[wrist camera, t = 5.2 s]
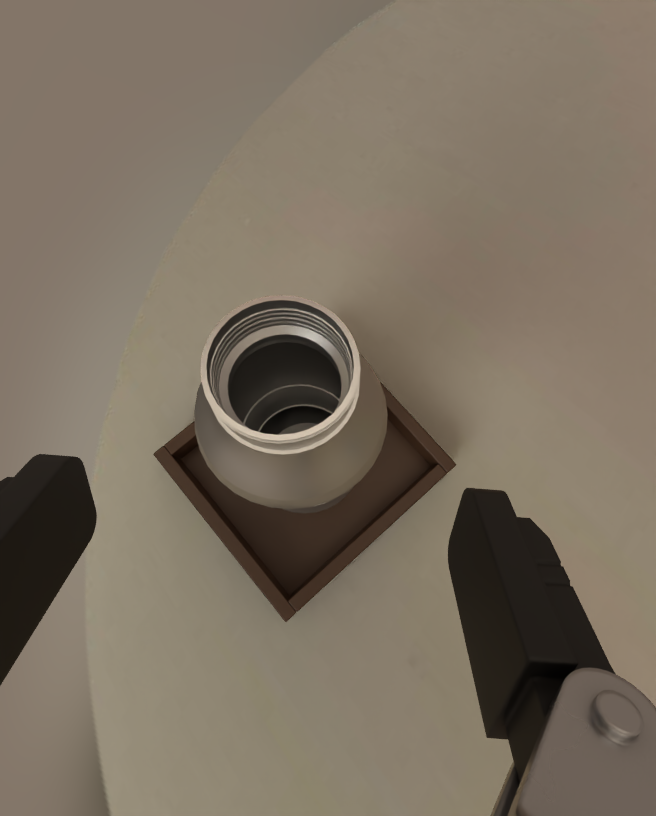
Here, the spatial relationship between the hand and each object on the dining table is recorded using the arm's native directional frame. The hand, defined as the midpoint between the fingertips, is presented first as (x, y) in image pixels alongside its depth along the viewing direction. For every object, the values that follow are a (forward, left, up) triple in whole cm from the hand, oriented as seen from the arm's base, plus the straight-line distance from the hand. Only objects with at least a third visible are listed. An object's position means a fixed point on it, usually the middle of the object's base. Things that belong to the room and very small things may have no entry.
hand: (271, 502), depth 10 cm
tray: (+2, +2, -21) cm, 21 cm away
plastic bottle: (+2, +2, -20) cm, 20 cm away
